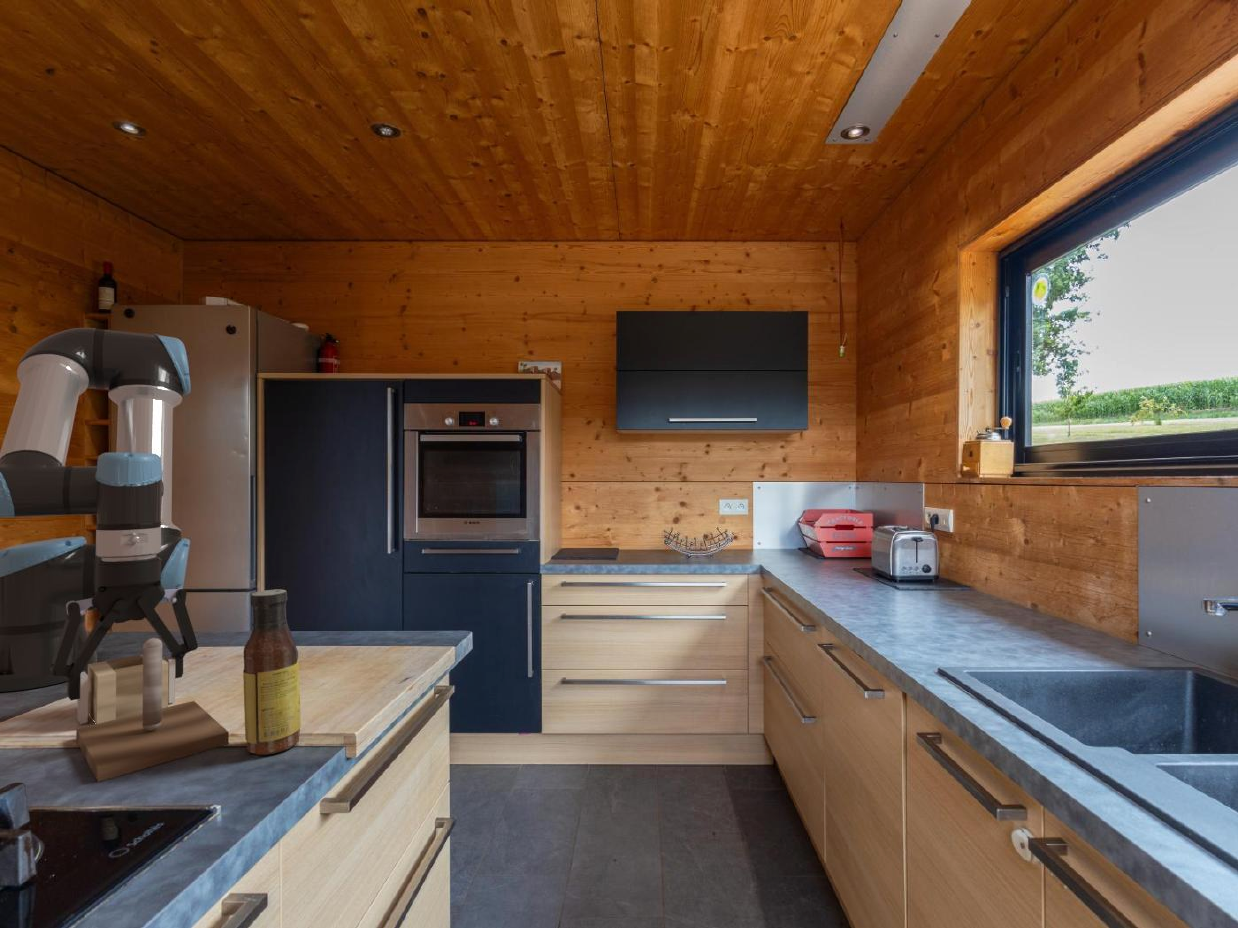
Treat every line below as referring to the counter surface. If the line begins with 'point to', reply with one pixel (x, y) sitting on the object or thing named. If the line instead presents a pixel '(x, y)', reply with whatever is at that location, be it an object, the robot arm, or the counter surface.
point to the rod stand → (149, 729)
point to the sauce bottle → (271, 678)
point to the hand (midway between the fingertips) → (127, 710)
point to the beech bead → (119, 688)
